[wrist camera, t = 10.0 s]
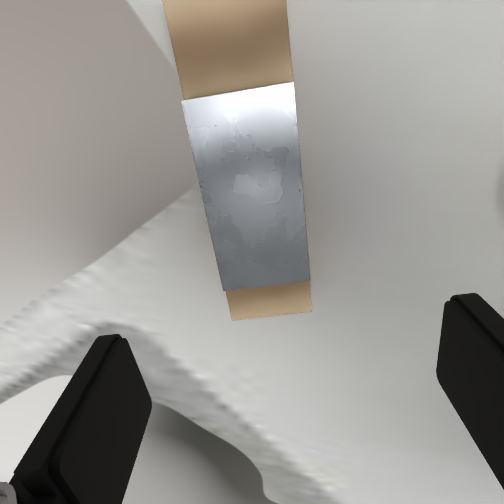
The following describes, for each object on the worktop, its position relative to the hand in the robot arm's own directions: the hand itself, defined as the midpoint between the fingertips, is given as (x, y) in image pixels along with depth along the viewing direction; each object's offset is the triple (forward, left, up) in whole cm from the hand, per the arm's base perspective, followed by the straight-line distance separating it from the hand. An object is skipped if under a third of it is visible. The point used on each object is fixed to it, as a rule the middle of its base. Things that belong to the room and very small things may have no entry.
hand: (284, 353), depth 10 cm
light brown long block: (0, +1, -20) cm, 20 cm away
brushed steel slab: (0, +1, -20) cm, 20 cm away
